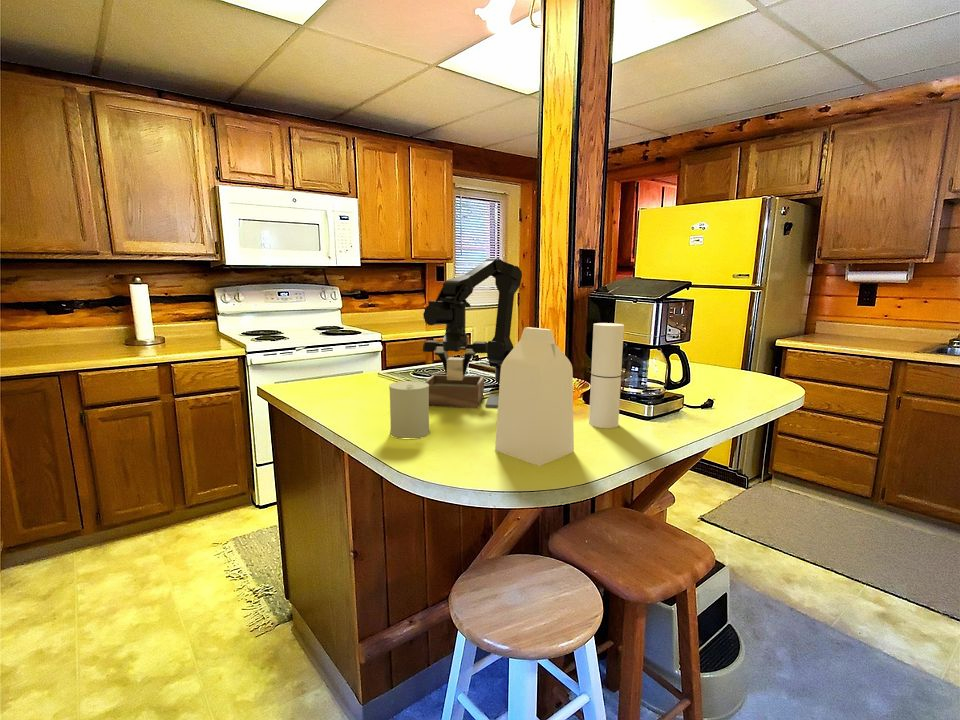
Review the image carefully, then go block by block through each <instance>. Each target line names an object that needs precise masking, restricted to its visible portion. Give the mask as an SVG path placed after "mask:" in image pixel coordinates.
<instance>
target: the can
mask: <svg viewBox="0 0 960 720" xmlns="http://www.w3.org/2000/svg"><path fill="white" fill-rule="evenodd" d="M388 388H389V408H390V409H389V410H390V412H389V415H390V416H389V417H390V431H389V434H390V436H391V435H392V436H394V437H397V438H396V439H398V438H418V439H422V438H421V437H423V438H425V437H427V436H428V434H429V435H430V432H431V429H430V413H429V412H430V406H429V384H428V383H425V381H418V380H417V381H416V380H405V381H397V382H392V383H391V384H389V385H388ZM392 436H391V437H392ZM424 436H425V437H424ZM394 437H393V438H394Z"/></svg>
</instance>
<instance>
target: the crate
mask: <svg viewBox="0 0 960 720" xmlns="http://www.w3.org/2000/svg"><path fill="white" fill-rule="evenodd" d="M424 382H425V383H428V384H429V407H434V408H435V407H436V408H460V409H462V408H463V409H465V408H466V409H479V406H480V405H481V402H482V400H483V398H484V396H483V392H484V393H485V376H484V375H483V376H481V375H479V376H478V375H477V376H476V375H465V377H464V379H463V380H447V375H446V374H431V376H430V377H428V379H426V380H425V381H424ZM482 397H483V398H482Z"/></svg>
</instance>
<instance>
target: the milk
mask: <svg viewBox="0 0 960 720" xmlns="http://www.w3.org/2000/svg"><path fill="white" fill-rule="evenodd" d="M573 375H574V374H573V365H572V363H571V361H570V359H569V358H568V357H567V356H566V354H565V353H564V352H563V351H562V350H561V348H560V347H559V346H558V345H557V343H556V341H555V337H554V335H553V331H552V329H548V328H542V327H541V328H538V327H530V326H529V327H524V328H523V330H522V333H521V336H520V338H519V341H518V342H517V343H516V344H515V346H513V349H512V351H511V352H510V353H509V354H508V355H507V357H506V358H505V359H504V361H503V363H502V365H501V371H500V385H499V387H498V390H499V391H498V395H499V400H498V408H497V417H496V418H497V419H496V428H495V429H496V430H495V431H496V432H495V446H494V451H495V452H499V453H501V454H503V455H506V456H510V457H512V458H515V459H518V460H520V461H521V460H522V461H524V462H526V463H528V464H533V465H535V466H537V467H541V466H544V465H545V464H547V463H551V462H553V461H555V460H557V459H560V458H562V457H566V456H567V455H569V454H572V453H574V452H575V443H574V442H575V441H574V439H575V438H574V437H575V436H574V434H575V433H574V386H573V385H574V380H573V379H574V377H573Z"/></svg>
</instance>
